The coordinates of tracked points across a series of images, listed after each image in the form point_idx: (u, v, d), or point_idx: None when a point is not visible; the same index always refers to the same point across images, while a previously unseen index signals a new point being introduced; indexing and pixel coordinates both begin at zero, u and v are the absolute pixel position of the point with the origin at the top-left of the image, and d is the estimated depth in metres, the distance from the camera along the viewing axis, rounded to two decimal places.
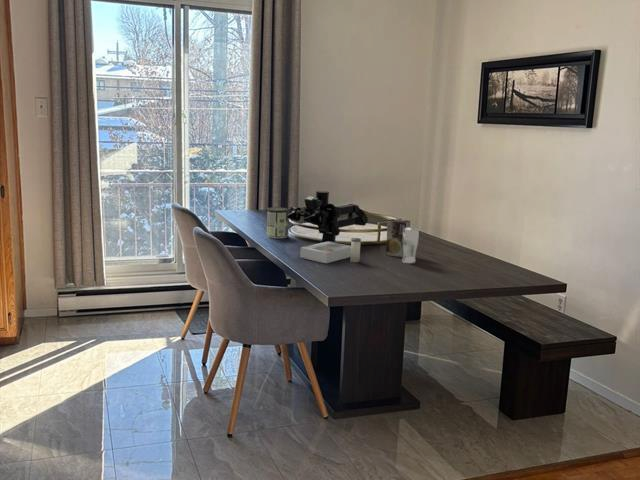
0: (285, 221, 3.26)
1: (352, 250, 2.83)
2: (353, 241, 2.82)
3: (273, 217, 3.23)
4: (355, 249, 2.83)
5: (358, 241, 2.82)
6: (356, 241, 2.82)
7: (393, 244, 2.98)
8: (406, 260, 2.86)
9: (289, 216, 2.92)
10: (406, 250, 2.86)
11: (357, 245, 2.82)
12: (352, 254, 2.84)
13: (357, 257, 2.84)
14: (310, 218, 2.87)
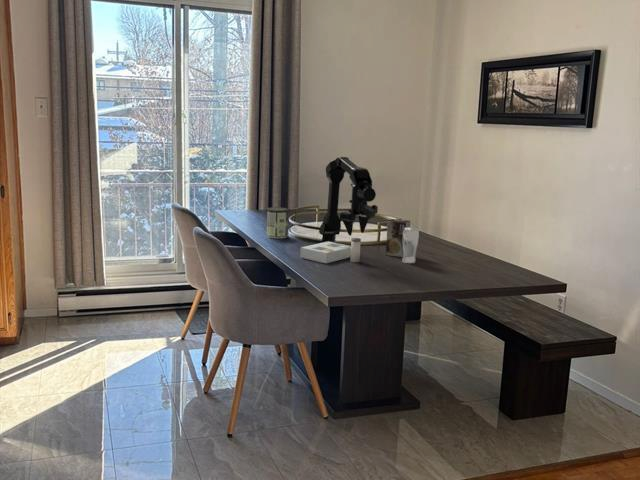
0: (285, 221, 3.26)
1: (352, 250, 2.83)
2: (353, 241, 2.82)
3: (273, 217, 3.23)
4: (355, 249, 2.83)
5: (358, 241, 2.82)
6: (356, 241, 2.82)
7: (393, 244, 2.98)
8: (406, 260, 2.86)
9: None
10: (406, 250, 2.86)
11: (357, 245, 2.82)
12: (352, 254, 2.84)
13: (357, 257, 2.84)
14: None
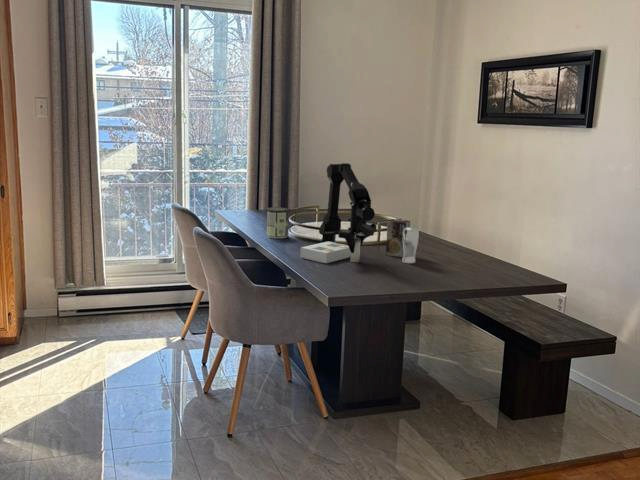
0: (285, 221, 3.26)
1: None
2: None
3: (273, 217, 3.23)
4: (355, 249, 2.83)
5: (358, 241, 2.82)
6: (356, 241, 2.82)
7: (393, 244, 2.98)
8: (406, 260, 2.86)
9: None
10: (406, 250, 2.86)
11: (357, 245, 2.82)
12: (352, 254, 2.84)
13: (357, 257, 2.84)
14: None
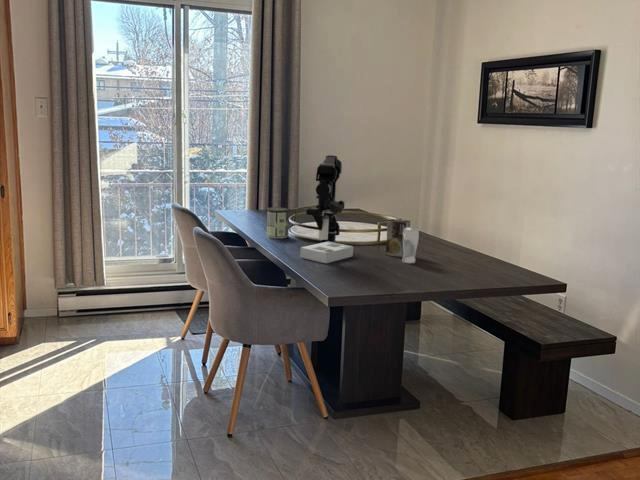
0: (285, 221, 3.26)
1: None
2: None
3: (273, 217, 3.23)
4: (323, 227, 2.82)
5: (326, 218, 2.82)
6: (324, 218, 2.81)
7: (393, 244, 2.98)
8: (406, 260, 2.86)
9: None
10: (406, 250, 2.86)
11: (325, 222, 2.82)
12: (320, 231, 2.83)
13: (325, 234, 2.83)
14: None
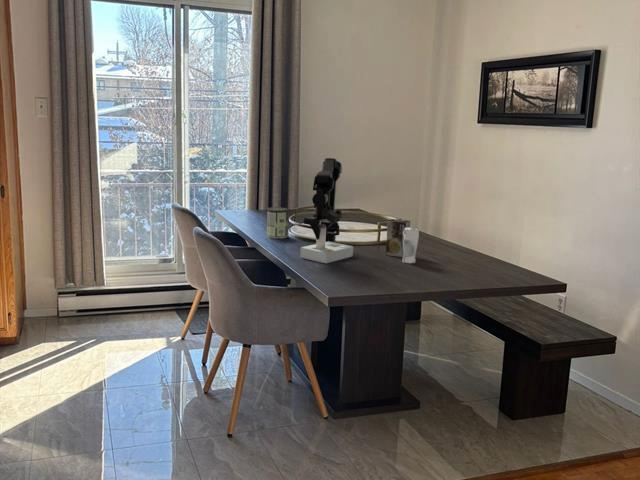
0: (285, 221, 3.26)
1: None
2: None
3: (273, 217, 3.23)
4: (320, 236, 2.83)
5: (323, 227, 2.83)
6: (321, 227, 2.83)
7: (393, 244, 2.98)
8: (406, 260, 2.86)
9: None
10: (406, 250, 2.86)
11: (322, 231, 2.83)
12: (318, 241, 2.84)
13: (323, 244, 2.84)
14: None
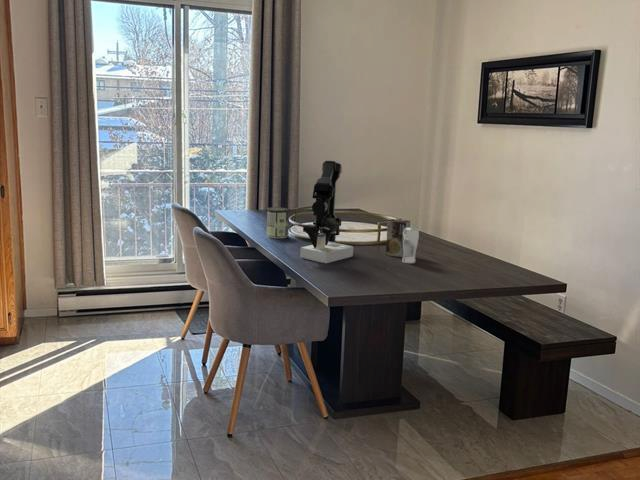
0: (285, 221, 3.26)
1: (317, 245, 2.85)
2: (318, 236, 2.84)
3: (273, 217, 3.23)
4: (320, 245, 2.84)
5: (323, 236, 2.84)
6: (321, 236, 2.83)
7: (393, 244, 2.98)
8: (406, 260, 2.86)
9: None
10: (406, 250, 2.86)
11: (322, 240, 2.84)
12: (317, 249, 2.85)
13: None
14: None
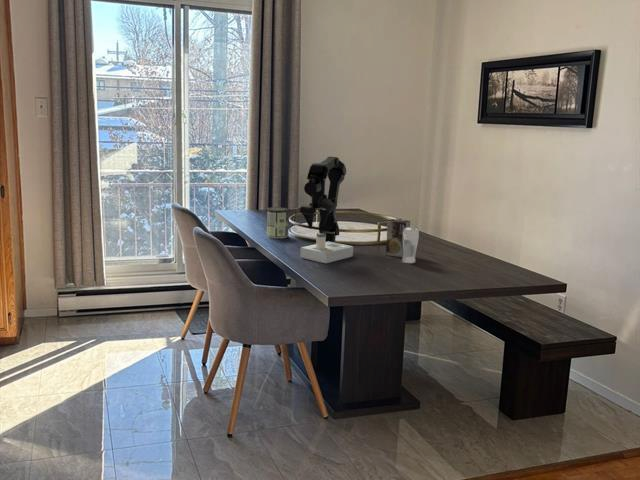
0: (285, 221, 3.26)
1: (317, 245, 2.85)
2: (318, 236, 2.84)
3: (273, 217, 3.23)
4: (320, 245, 2.84)
5: (323, 236, 2.84)
6: (321, 236, 2.83)
7: (393, 244, 2.98)
8: (406, 260, 2.86)
9: None
10: (406, 250, 2.86)
11: (322, 240, 2.84)
12: (317, 249, 2.85)
13: None
14: None
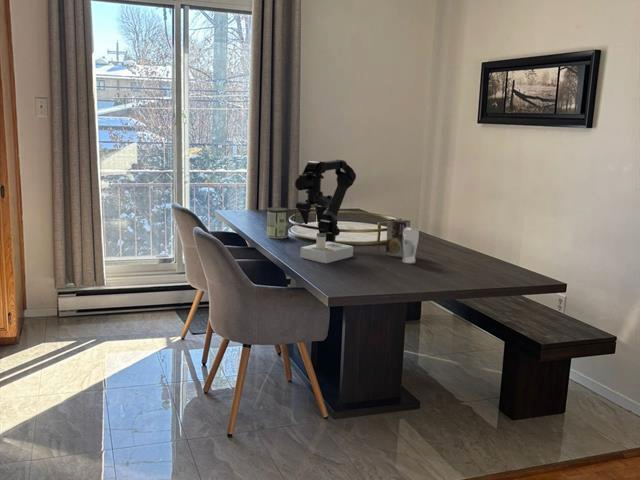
0: (285, 221, 3.26)
1: (317, 245, 2.85)
2: (318, 236, 2.84)
3: (273, 217, 3.23)
4: (320, 245, 2.84)
5: (323, 236, 2.84)
6: (321, 236, 2.83)
7: (393, 244, 2.98)
8: (406, 260, 2.86)
9: None
10: (406, 250, 2.86)
11: (322, 240, 2.84)
12: (317, 249, 2.85)
13: None
14: None
